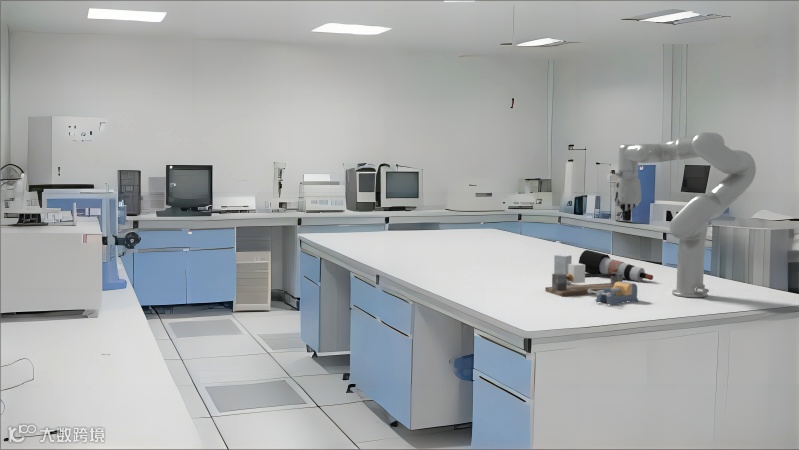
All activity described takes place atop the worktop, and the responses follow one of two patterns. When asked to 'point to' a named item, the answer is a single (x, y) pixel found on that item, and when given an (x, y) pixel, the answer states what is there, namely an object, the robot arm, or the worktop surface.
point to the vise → (617, 293)
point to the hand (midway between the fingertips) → (626, 220)
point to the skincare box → (562, 264)
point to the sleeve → (577, 273)
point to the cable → (611, 266)
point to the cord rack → (562, 289)
